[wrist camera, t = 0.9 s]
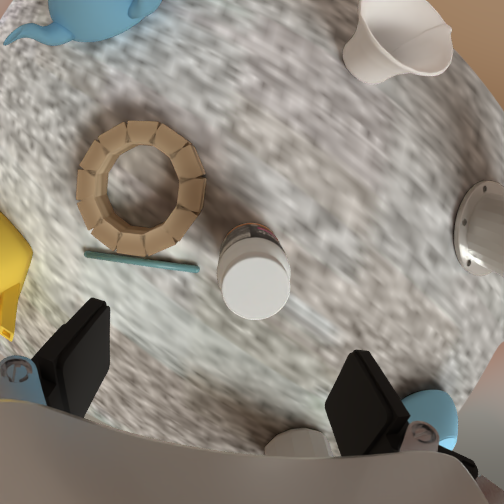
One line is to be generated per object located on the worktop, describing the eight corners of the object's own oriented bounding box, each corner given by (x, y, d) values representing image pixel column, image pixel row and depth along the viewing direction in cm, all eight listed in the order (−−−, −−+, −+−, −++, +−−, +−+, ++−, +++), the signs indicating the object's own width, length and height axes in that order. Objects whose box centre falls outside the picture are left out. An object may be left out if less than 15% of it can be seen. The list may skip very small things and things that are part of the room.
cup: (412, 94, 26) (470, 77, 16) (337, 100, 26) (382, 74, 16) (389, 24, 23) (436, -11, 14) (313, 24, 23) (344, -24, 14)
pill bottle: (290, 252, 30) (315, 292, 20) (246, 288, 31) (252, 341, 21) (253, 209, 29) (262, 230, 19) (208, 247, 29) (196, 287, 20)
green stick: (200, 265, 30) (199, 267, 29) (199, 271, 30) (198, 274, 29) (85, 249, 29) (82, 251, 28) (85, 255, 29) (83, 257, 28)
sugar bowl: (450, 369, 37) (489, 413, 26) (438, 424, 41) (465, 464, 30) (367, 406, 37) (395, 464, 26) (367, 455, 41) (387, 503, 30)
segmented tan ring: (213, 130, 26) (210, 125, 23) (197, 253, 29) (194, 263, 27) (97, 124, 25) (84, 120, 22) (88, 239, 28) (75, 247, 25)
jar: (329, 450, 40) (357, 540, 22) (271, 465, 40) (283, 557, 23) (322, 416, 37) (357, 522, 20) (255, 433, 37) (266, 543, 20)
